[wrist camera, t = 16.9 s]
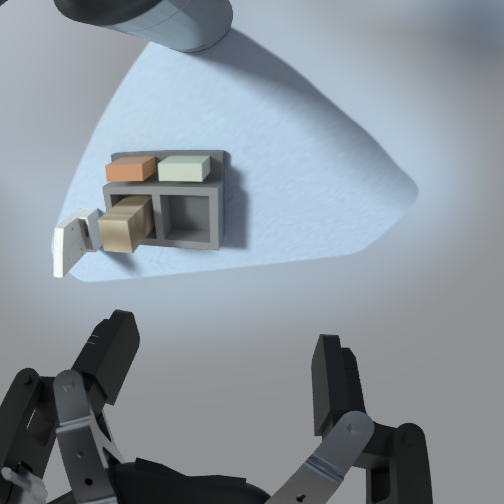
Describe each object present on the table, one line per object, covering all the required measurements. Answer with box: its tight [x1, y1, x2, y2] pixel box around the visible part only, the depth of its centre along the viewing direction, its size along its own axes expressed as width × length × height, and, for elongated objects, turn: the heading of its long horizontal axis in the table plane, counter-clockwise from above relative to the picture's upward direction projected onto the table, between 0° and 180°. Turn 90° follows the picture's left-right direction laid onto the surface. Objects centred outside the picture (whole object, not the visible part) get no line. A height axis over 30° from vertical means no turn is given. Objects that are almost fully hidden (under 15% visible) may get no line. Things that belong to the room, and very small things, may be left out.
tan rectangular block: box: [98, 195, 155, 253], centre depth 33 cm, size 4×4×8 cm
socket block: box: [103, 150, 224, 250], centre depth 34 cm, size 12×15×5 cm
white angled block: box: [54, 208, 103, 278], centre depth 37 cm, size 4×10×9 cm, turn 0°
